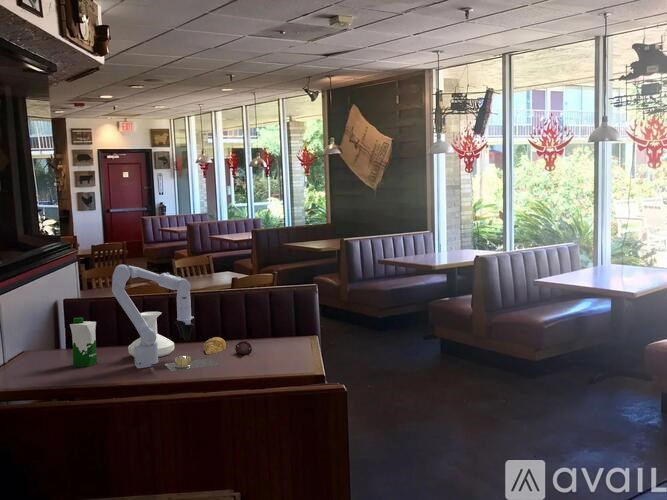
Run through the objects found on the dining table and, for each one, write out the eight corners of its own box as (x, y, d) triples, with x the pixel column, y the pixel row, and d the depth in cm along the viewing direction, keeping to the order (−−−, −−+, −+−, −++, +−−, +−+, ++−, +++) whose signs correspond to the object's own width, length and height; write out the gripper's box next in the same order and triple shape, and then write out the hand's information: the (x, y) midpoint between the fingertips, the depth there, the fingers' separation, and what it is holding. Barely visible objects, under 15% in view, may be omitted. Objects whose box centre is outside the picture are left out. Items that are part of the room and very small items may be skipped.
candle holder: (120, 361, 294) (117, 317, 293) (141, 351, 314) (139, 310, 313) (163, 362, 291) (161, 317, 289) (182, 352, 310) (180, 310, 309)
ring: (177, 367, 273) (177, 359, 273) (174, 364, 279) (174, 357, 278) (191, 365, 276) (191, 358, 275) (188, 362, 281) (188, 355, 281)
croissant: (214, 365, 298) (222, 349, 297) (194, 354, 298) (202, 338, 297) (227, 353, 319) (234, 338, 318) (208, 343, 319) (215, 328, 318)
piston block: (171, 374, 269) (170, 361, 269) (164, 366, 282) (163, 354, 282) (220, 367, 278) (220, 355, 277) (211, 360, 290) (211, 348, 290)
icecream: (252, 344, 291) (254, 340, 306) (235, 341, 290) (238, 337, 305) (249, 360, 290) (251, 356, 305) (232, 357, 290) (235, 352, 305)
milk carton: (81, 362, 295) (79, 316, 294) (100, 362, 293) (98, 316, 292) (69, 366, 286) (67, 319, 285) (89, 367, 285) (86, 320, 283)
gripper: (197, 308, 283) (198, 340, 284) (189, 304, 296) (190, 335, 297) (180, 310, 280) (181, 342, 281) (173, 305, 293) (174, 336, 294)
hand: (185, 338), depth 289 cm, fingers open, 7 cm apart
